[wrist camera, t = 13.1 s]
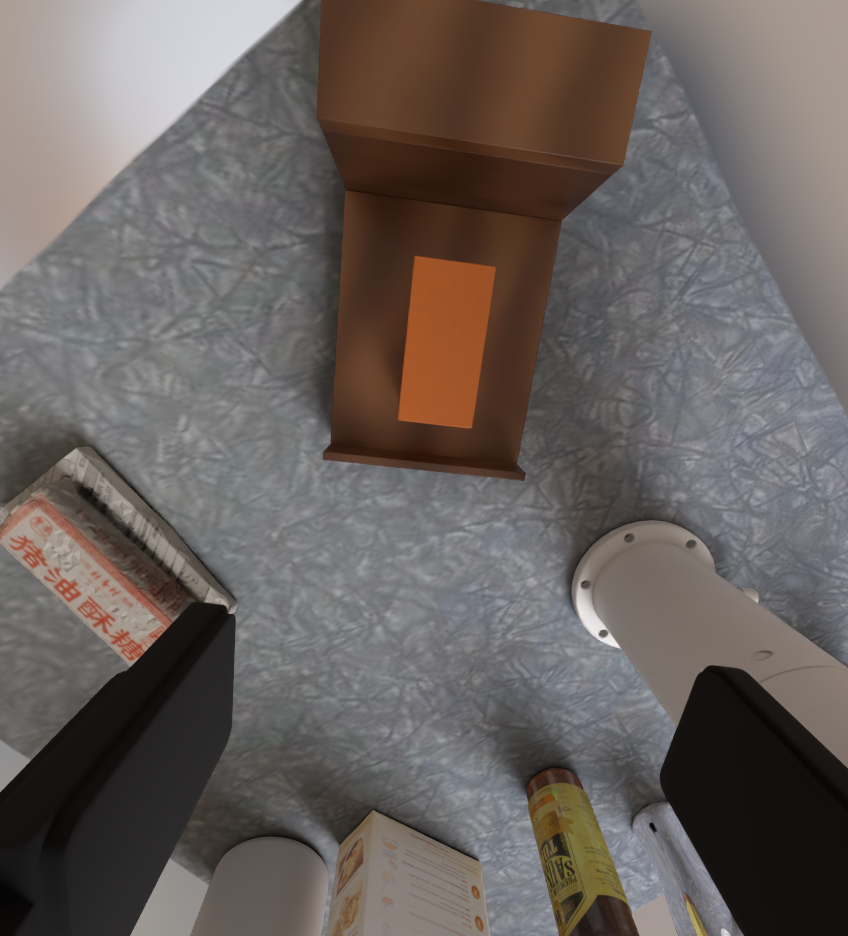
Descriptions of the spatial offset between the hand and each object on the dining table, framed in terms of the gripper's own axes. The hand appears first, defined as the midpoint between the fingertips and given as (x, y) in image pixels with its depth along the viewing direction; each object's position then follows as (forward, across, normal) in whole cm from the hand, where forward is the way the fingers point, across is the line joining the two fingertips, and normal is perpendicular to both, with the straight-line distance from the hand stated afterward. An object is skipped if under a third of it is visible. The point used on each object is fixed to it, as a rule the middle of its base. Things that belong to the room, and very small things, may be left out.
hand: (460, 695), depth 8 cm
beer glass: (+27, -32, +39) cm, 57 cm away
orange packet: (+23, +1, -7) cm, 24 cm away
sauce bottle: (+27, -18, +35) cm, 48 cm away
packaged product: (+26, +24, +14) cm, 38 cm away
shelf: (+26, +1, -10) cm, 28 cm away
